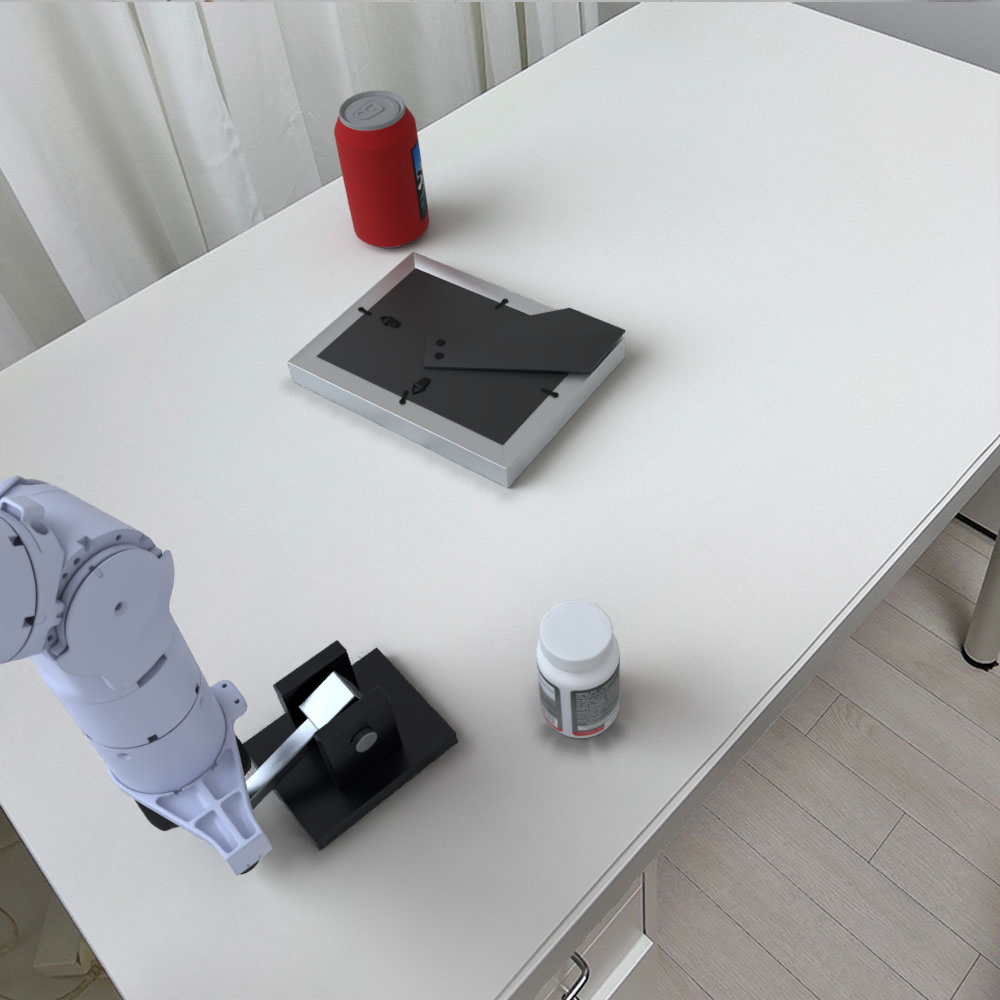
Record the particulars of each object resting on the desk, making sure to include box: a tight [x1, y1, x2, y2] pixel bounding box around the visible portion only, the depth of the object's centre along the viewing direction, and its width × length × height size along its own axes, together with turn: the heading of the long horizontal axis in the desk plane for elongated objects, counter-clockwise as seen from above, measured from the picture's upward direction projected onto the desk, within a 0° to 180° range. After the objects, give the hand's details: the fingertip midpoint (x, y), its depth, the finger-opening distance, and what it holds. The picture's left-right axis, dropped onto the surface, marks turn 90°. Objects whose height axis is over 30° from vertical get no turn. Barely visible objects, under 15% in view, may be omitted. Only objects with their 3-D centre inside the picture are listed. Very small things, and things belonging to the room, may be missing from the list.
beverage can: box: [333, 90, 430, 249], centre depth 93 cm, size 7×7×12 cm
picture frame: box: [286, 251, 626, 489], centre depth 85 cm, size 16×3×21 cm
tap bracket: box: [242, 639, 459, 852], centre depth 63 cm, size 10×8×7 cm
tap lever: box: [239, 671, 363, 876], centre depth 61 cm, size 11×6×2 cm, turn 130°
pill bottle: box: [535, 599, 621, 739], centre depth 63 cm, size 5×5×8 cm
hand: (217, 817), depth 60 cm, fingers closed, pressing on tap lever
